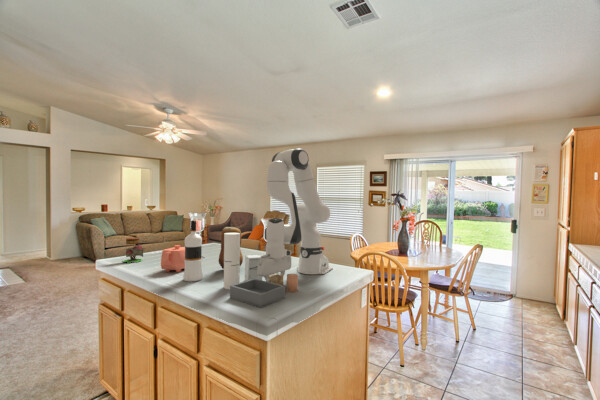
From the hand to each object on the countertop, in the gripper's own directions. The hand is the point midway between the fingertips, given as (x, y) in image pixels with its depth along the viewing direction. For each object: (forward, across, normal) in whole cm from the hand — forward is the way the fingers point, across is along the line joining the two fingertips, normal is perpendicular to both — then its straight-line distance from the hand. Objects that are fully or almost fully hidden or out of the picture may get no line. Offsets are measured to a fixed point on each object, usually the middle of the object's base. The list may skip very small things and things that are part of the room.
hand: (274, 282), depth 137 cm
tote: (+2, -17, -6) cm, 18 cm away
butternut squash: (+2, +6, +40) cm, 40 cm away
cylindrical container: (+2, -14, +14) cm, 20 cm away
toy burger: (+2, -19, +106) cm, 108 cm away
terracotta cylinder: (+2, 0, -10) cm, 11 cm away
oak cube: (+2, 0, 0) cm, 2 cm away
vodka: (+2, -18, +39) cm, 43 cm away
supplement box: (+2, -1, +14) cm, 14 cm away
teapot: (+2, -13, +64) cm, 66 cm away
